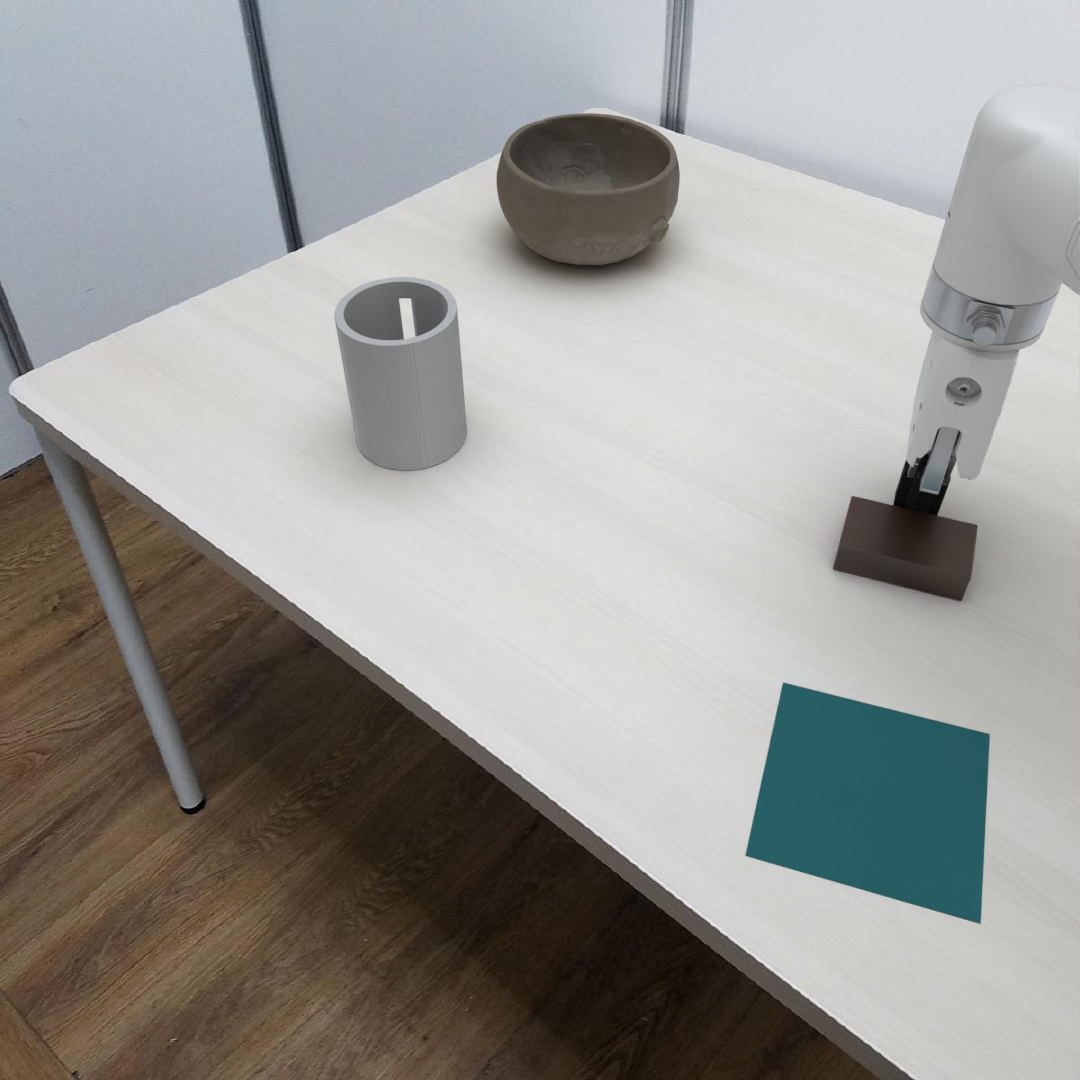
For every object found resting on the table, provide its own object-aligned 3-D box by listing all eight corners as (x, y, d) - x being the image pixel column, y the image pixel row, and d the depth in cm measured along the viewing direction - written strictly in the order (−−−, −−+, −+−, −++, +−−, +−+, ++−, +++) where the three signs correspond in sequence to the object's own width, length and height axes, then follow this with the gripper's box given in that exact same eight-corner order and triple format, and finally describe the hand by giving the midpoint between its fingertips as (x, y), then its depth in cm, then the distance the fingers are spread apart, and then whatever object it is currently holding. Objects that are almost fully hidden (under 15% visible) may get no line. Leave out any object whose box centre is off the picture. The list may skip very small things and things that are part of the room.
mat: (988, 735, 67) (989, 733, 67) (979, 924, 59) (980, 923, 59) (782, 684, 70) (783, 682, 70) (745, 856, 62) (745, 855, 62)
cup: (380, 483, 84) (359, 359, 75) (341, 419, 90) (318, 296, 81) (484, 448, 87) (476, 324, 78) (440, 388, 93) (428, 265, 84)
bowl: (703, 264, 106) (713, 169, 99) (537, 304, 102) (536, 207, 94) (627, 187, 117) (632, 97, 110) (475, 220, 113) (470, 127, 106)
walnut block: (968, 548, 78) (978, 524, 77) (961, 601, 75) (971, 577, 73) (845, 519, 81) (851, 495, 79) (832, 569, 77) (839, 545, 75)
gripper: (1047, 379, 61) (957, 592, 74) (1054, 248, 70) (974, 456, 84) (912, 353, 63) (848, 565, 76) (937, 228, 72) (877, 435, 85)
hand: (914, 507), depth 80 cm, fingers closed
